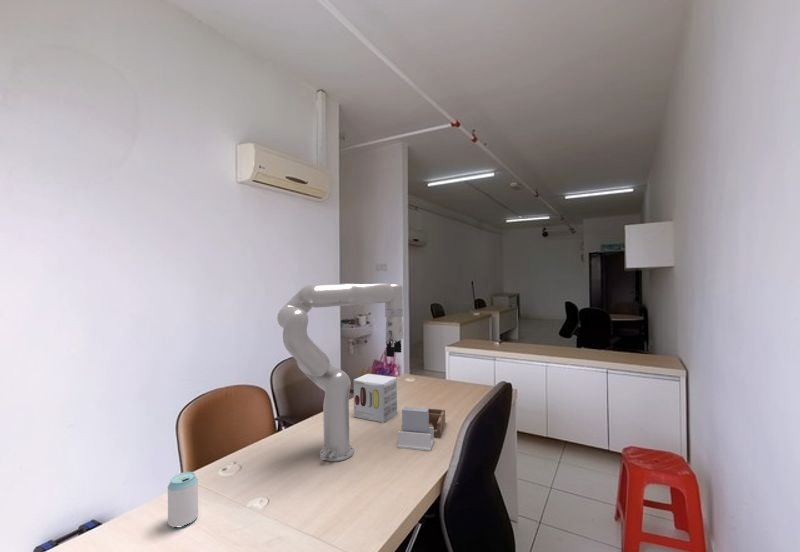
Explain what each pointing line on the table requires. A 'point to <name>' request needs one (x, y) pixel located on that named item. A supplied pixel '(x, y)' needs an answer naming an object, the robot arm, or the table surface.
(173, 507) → the can
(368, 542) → the table surface
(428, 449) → the stand
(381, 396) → the supplement box
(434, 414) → the box
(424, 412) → the sheet
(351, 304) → the robot arm
